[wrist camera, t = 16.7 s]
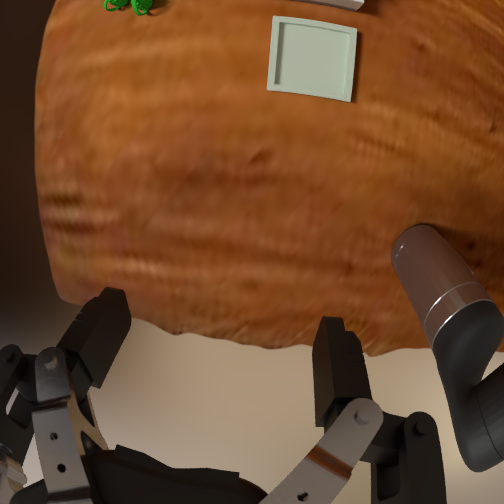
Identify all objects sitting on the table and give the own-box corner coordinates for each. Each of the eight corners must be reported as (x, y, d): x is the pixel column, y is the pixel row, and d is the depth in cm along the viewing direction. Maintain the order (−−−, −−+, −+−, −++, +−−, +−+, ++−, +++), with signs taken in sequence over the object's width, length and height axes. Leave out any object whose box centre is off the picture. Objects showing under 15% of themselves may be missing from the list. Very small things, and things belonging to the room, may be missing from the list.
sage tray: (354, 30, 24) (357, 28, 23) (348, 101, 30) (350, 102, 29) (273, 18, 25) (272, 15, 24) (267, 90, 30) (266, 89, 29)
